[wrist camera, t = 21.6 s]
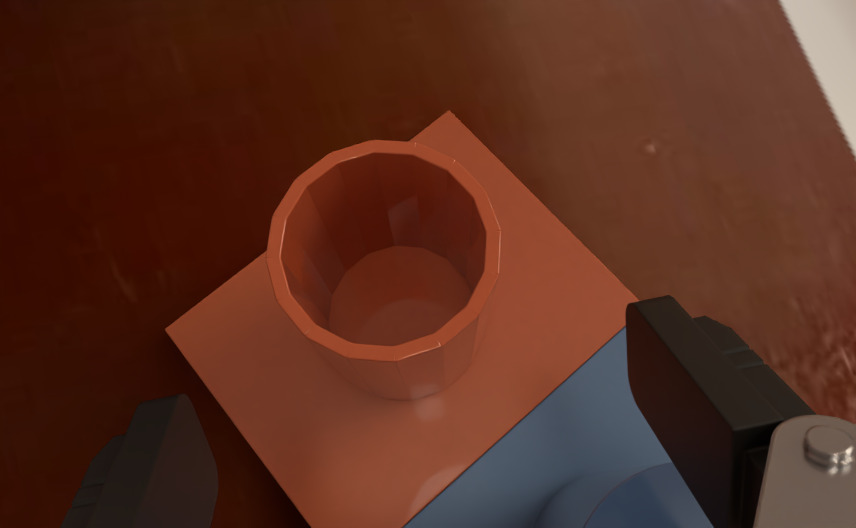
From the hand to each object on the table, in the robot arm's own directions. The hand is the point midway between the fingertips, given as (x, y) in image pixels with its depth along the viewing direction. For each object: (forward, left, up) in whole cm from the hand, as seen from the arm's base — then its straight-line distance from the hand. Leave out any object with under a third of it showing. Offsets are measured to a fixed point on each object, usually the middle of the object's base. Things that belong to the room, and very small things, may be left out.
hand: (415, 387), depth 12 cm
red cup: (-2, -4, -12) cm, 13 cm away
